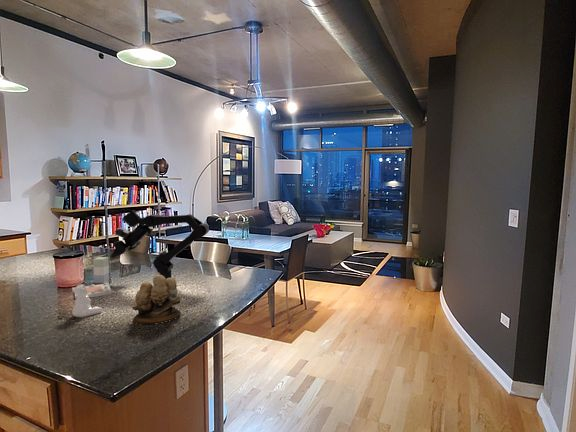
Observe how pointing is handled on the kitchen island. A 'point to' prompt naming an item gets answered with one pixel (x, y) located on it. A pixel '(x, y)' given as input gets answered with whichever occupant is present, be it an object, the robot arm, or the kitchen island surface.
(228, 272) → the kitchen island surface
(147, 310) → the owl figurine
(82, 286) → the seated beast figurine
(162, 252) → the robot arm
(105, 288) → the baseplate
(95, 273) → the grey green upright block
